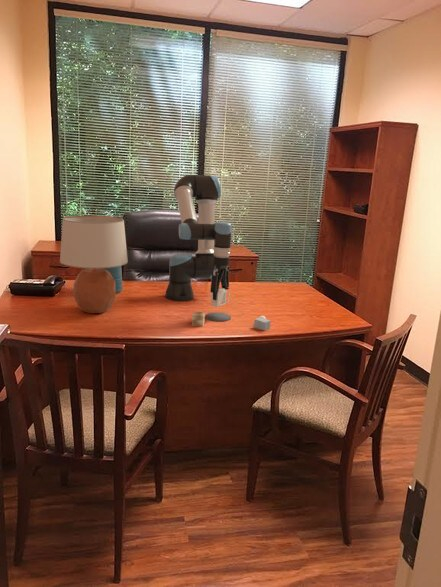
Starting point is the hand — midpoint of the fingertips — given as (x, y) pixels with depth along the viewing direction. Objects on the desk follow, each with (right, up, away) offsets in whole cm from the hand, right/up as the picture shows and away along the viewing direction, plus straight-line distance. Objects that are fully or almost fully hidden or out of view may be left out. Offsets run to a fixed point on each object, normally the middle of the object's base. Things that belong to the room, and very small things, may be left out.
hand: (219, 304), depth 226 cm
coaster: (0, -6, +2) cm, 7 cm away
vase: (-61, +6, +37) cm, 72 cm away
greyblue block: (+19, -11, -10) cm, 24 cm away
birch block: (-9, -9, -9) cm, 16 cm away
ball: (+20, -9, -4) cm, 22 cm away
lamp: (-58, -3, +1) cm, 59 cm away
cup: (0, -1, 0) cm, 1 cm away
